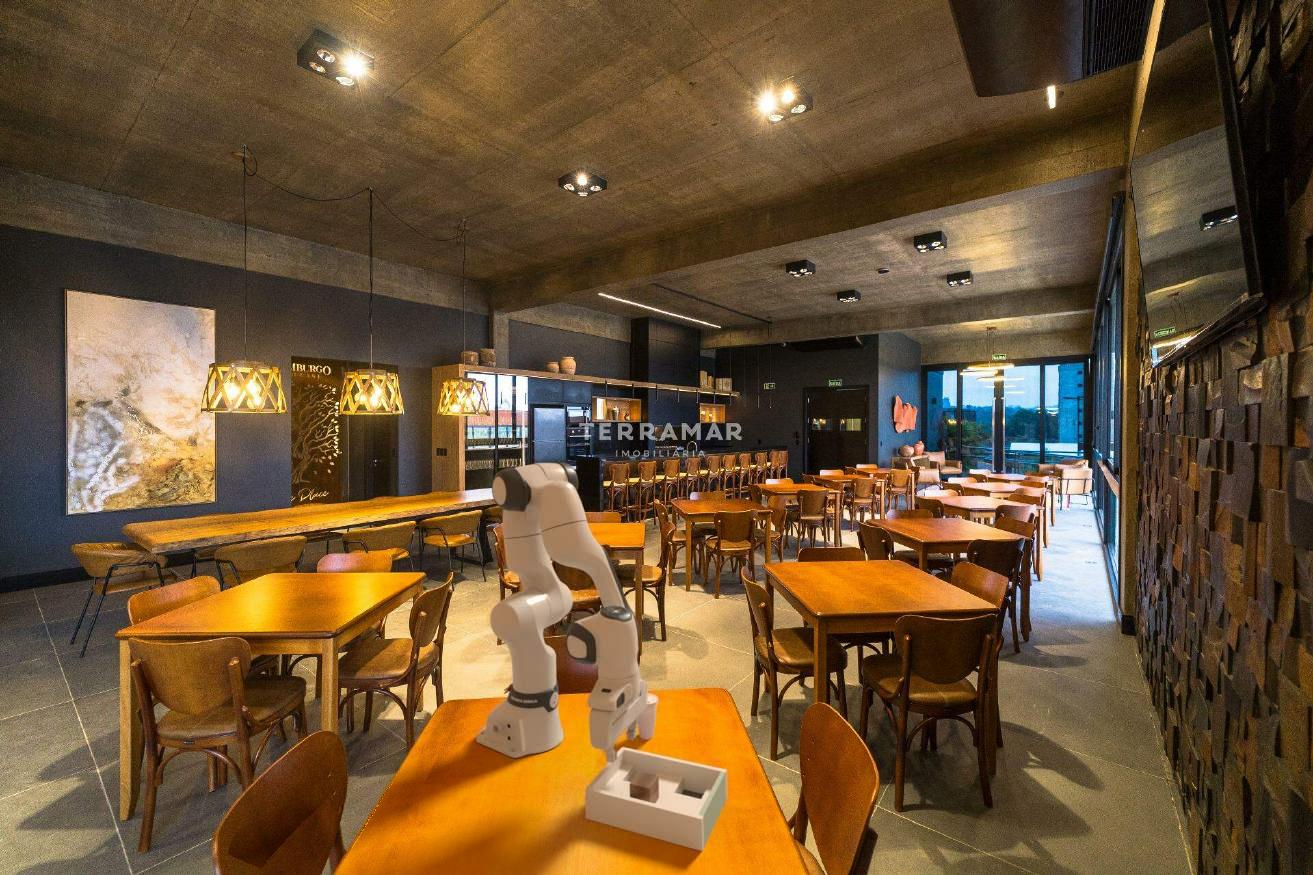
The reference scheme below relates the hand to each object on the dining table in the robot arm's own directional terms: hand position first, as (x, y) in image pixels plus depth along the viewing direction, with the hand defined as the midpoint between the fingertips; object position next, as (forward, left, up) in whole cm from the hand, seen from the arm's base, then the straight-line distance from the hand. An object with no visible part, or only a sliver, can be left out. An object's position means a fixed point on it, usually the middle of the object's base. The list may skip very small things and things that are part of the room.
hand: (622, 749), depth 123 cm
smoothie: (-6, +25, -11) cm, 28 cm away
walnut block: (+7, -4, -8) cm, 11 cm away
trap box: (+8, 0, -11) cm, 13 cm away
